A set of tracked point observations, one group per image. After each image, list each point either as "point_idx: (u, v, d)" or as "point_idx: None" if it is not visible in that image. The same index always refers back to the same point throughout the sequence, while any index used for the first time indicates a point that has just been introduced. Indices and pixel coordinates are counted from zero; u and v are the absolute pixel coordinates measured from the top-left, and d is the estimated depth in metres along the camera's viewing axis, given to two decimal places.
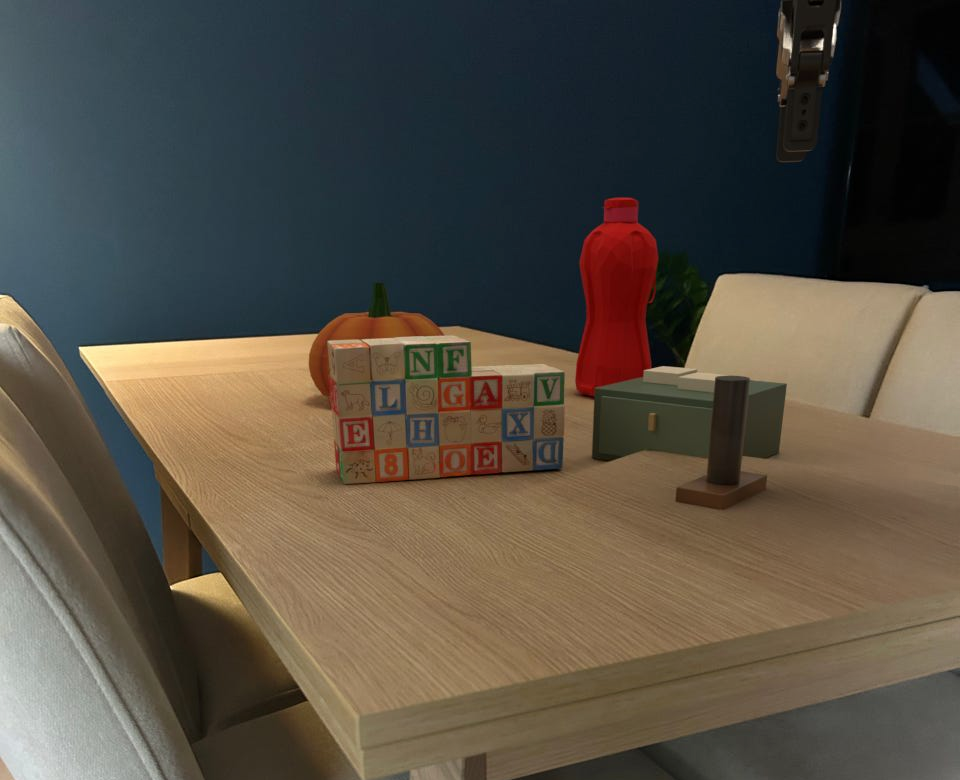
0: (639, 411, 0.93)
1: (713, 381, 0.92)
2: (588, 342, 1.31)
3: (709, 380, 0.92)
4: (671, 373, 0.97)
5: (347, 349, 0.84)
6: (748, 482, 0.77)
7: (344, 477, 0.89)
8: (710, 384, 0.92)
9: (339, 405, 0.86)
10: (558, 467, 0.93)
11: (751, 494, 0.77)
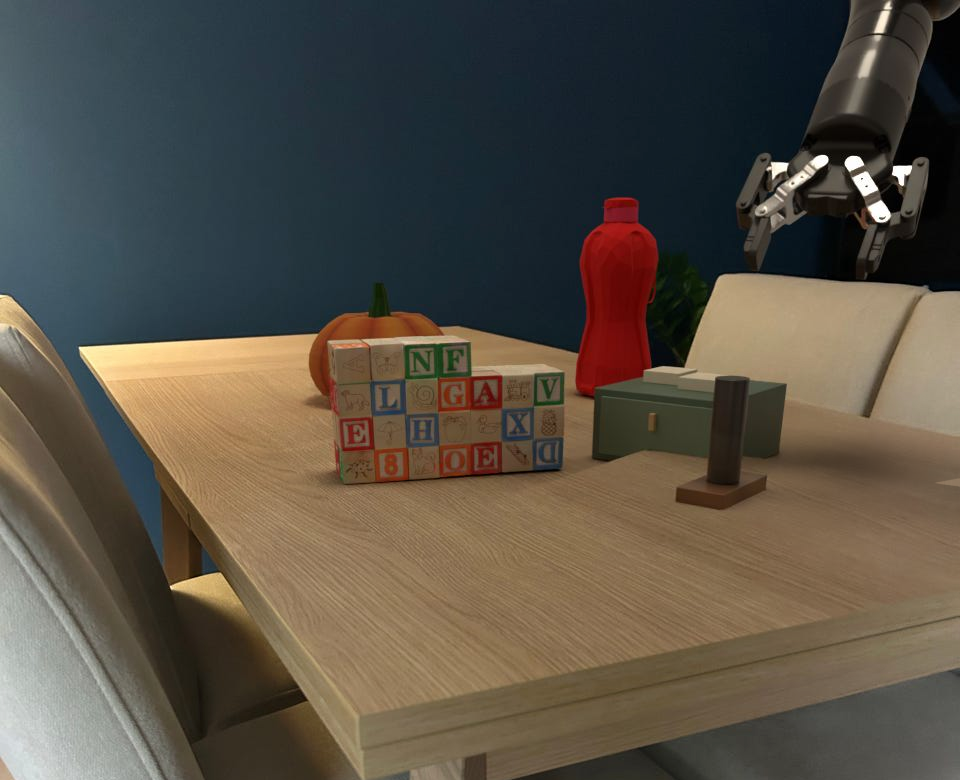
0: (639, 411, 0.93)
1: (713, 381, 0.92)
2: (588, 342, 1.31)
3: (709, 380, 0.92)
4: (671, 373, 0.97)
5: (347, 349, 0.84)
6: (748, 482, 0.77)
7: (344, 477, 0.89)
8: (710, 384, 0.92)
9: (339, 405, 0.86)
10: (558, 467, 0.93)
11: (751, 494, 0.77)
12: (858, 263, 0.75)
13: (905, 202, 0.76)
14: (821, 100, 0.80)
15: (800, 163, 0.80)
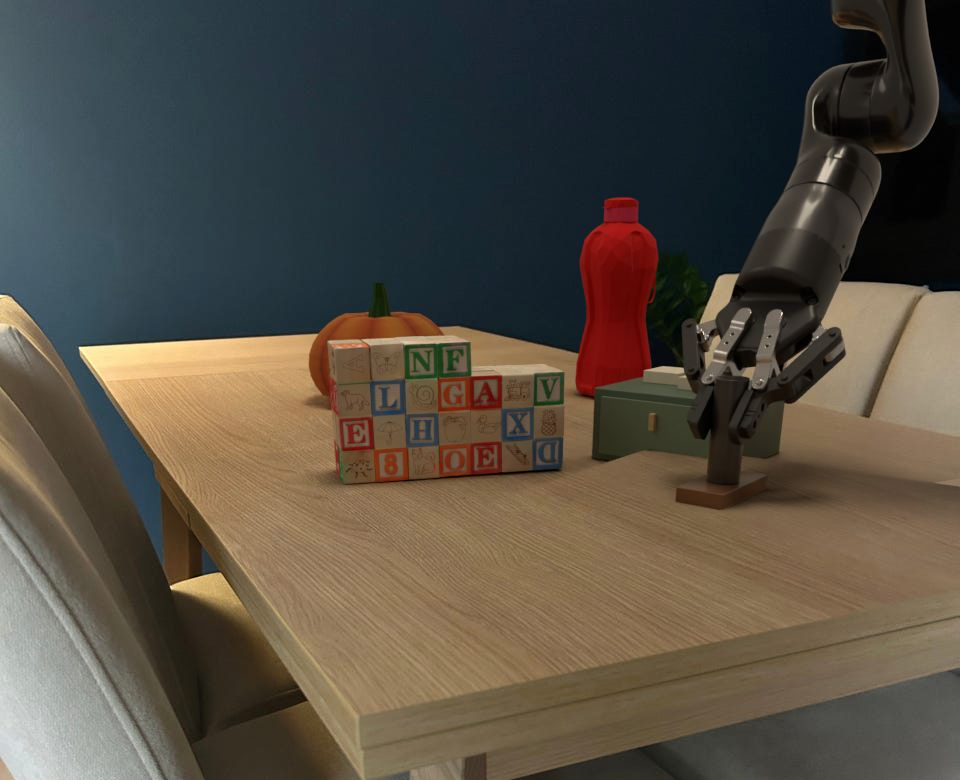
0: (639, 411, 0.93)
1: None
2: (588, 342, 1.31)
3: None
4: (671, 373, 0.97)
5: (347, 349, 0.84)
6: (748, 482, 0.77)
7: (344, 477, 0.89)
8: None
9: (339, 405, 0.86)
10: (558, 467, 0.93)
11: (751, 494, 0.77)
12: (730, 430, 0.73)
13: (789, 367, 0.72)
14: (751, 250, 0.77)
15: (727, 314, 0.77)
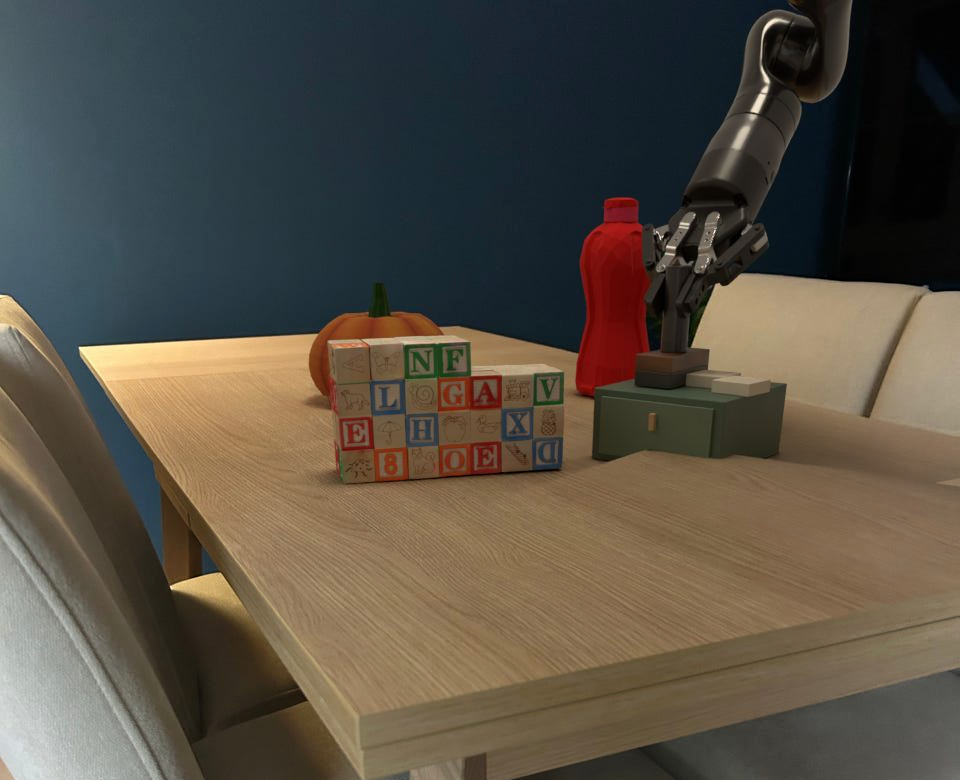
0: (639, 411, 0.93)
1: (747, 385, 0.90)
2: (588, 342, 1.31)
3: (743, 383, 0.90)
4: (715, 377, 0.94)
5: (347, 349, 0.84)
6: (693, 352, 0.96)
7: (344, 476, 0.89)
8: (744, 388, 0.90)
9: (339, 405, 0.86)
10: (558, 467, 0.93)
11: (696, 362, 0.97)
12: (676, 305, 0.92)
13: (723, 255, 0.92)
14: (697, 167, 0.97)
15: (677, 219, 0.97)
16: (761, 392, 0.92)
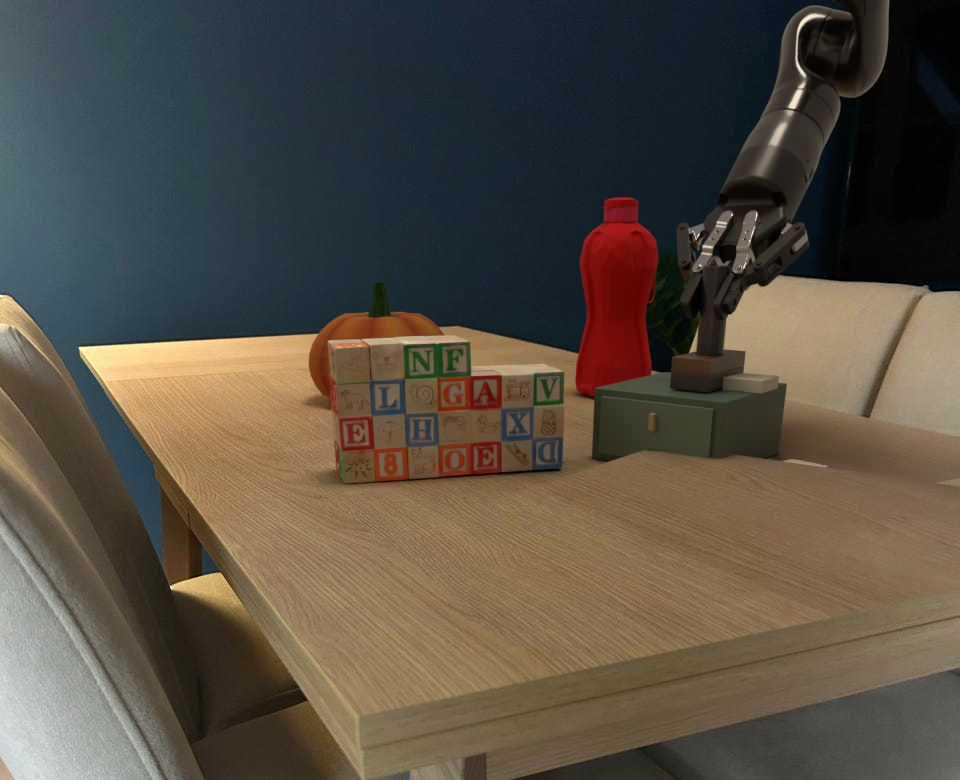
0: (639, 411, 0.93)
1: None
2: (588, 342, 1.31)
3: None
4: (754, 380, 0.92)
5: (347, 349, 0.84)
6: (730, 354, 0.94)
7: (344, 476, 0.89)
8: None
9: (339, 405, 0.86)
10: (558, 467, 0.93)
11: (732, 365, 0.95)
12: (714, 306, 0.90)
13: (762, 255, 0.90)
14: (733, 165, 0.95)
15: (713, 217, 0.95)
16: None
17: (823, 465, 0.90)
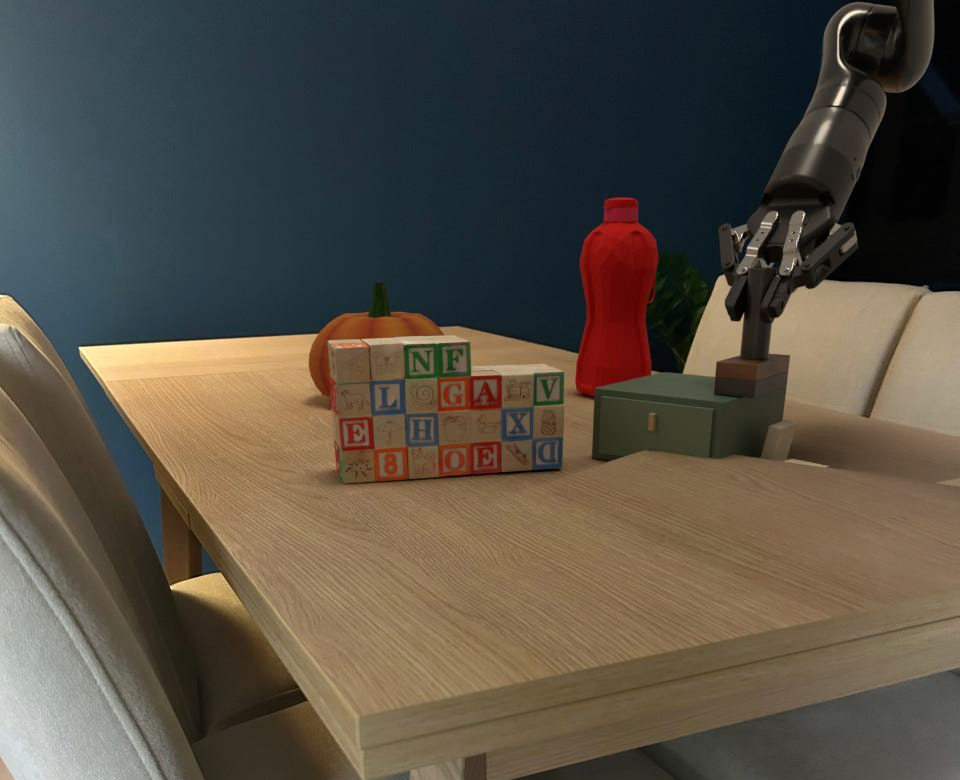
0: (639, 411, 0.93)
1: None
2: (588, 342, 1.31)
3: None
4: None
5: (347, 349, 0.85)
6: (775, 358, 0.91)
7: (344, 476, 0.89)
8: None
9: (339, 405, 0.86)
10: (558, 467, 0.93)
11: (778, 369, 0.92)
12: (761, 309, 0.87)
13: (811, 256, 0.87)
14: (777, 164, 0.92)
15: (757, 218, 0.92)
16: None
17: (823, 465, 0.90)
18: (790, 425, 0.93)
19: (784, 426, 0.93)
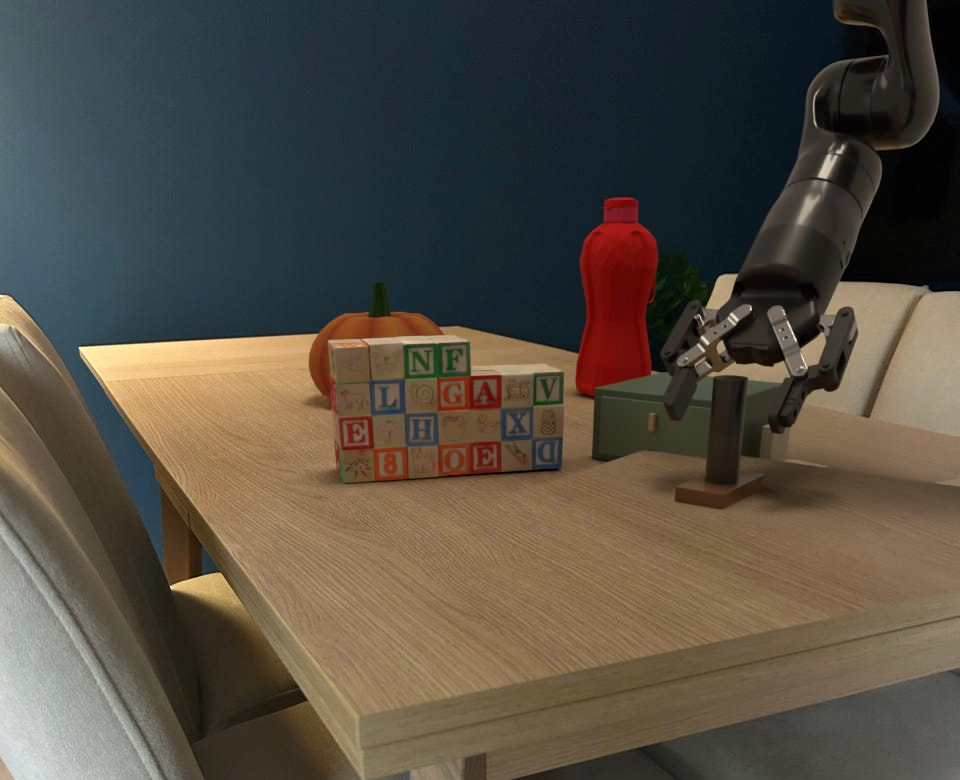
0: (639, 411, 0.93)
1: None
2: (588, 342, 1.31)
3: None
4: None
5: (347, 348, 0.85)
6: (746, 481, 0.77)
7: (344, 476, 0.89)
8: None
9: (339, 404, 0.86)
10: (557, 466, 0.93)
11: (749, 493, 0.78)
12: (769, 418, 0.71)
13: (824, 354, 0.71)
14: (752, 246, 0.77)
15: (728, 311, 0.77)
16: None
17: (823, 465, 0.90)
18: None
19: None
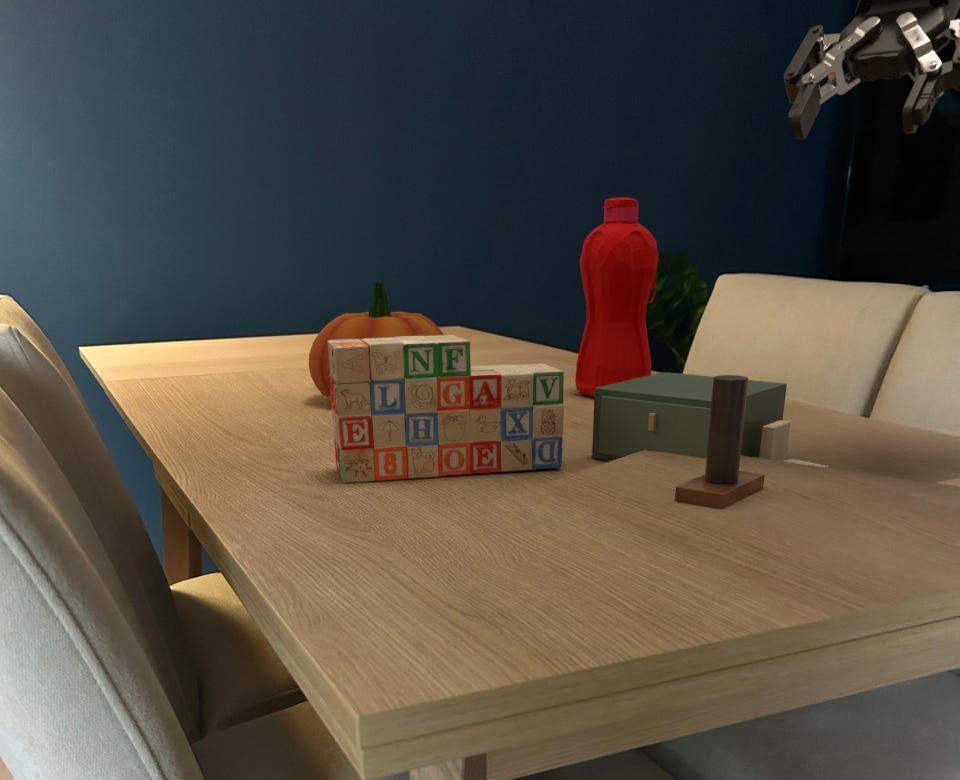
0: (639, 411, 0.93)
1: None
2: (588, 342, 1.31)
3: None
4: None
5: (346, 348, 0.85)
6: (746, 481, 0.77)
7: (343, 476, 0.89)
8: None
9: (338, 404, 0.86)
10: (557, 466, 0.94)
11: (749, 493, 0.77)
12: (904, 113, 0.72)
13: (958, 49, 0.72)
14: None
15: (852, 29, 0.78)
16: None
17: (823, 465, 0.90)
18: (784, 424, 0.94)
19: (778, 425, 0.93)
